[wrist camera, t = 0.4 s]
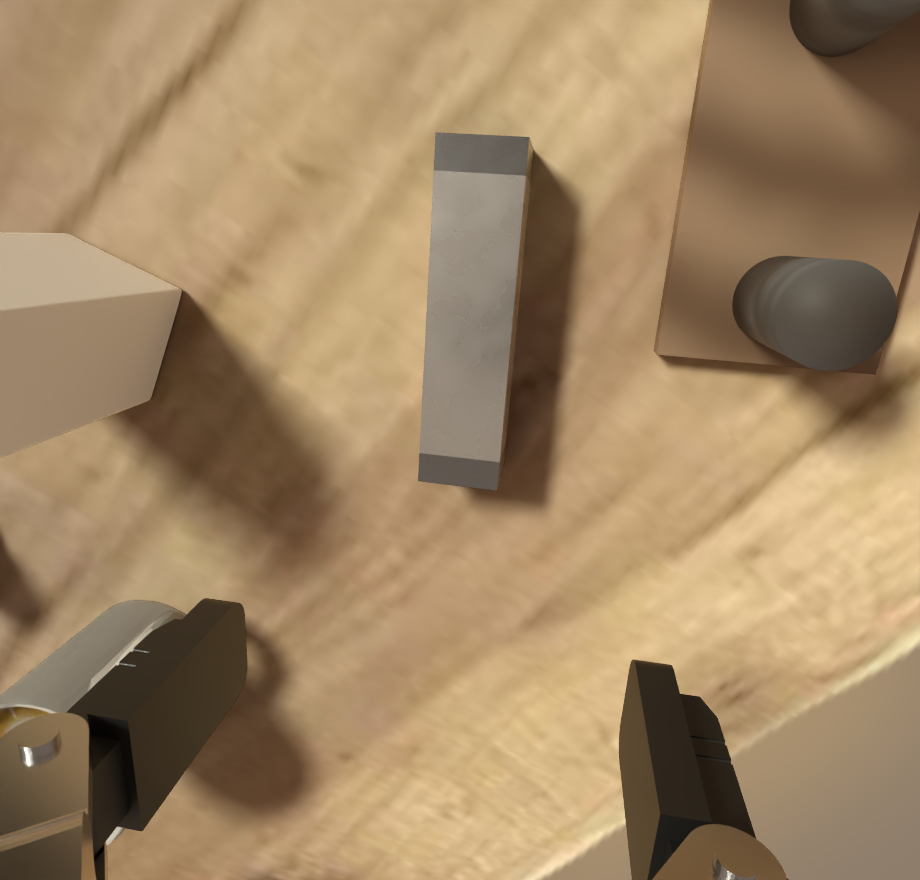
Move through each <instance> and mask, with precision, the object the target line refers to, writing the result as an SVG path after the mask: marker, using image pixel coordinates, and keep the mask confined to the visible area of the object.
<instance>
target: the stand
mask: <svg viewBox="0 0 920 880" xmlns="http://www.w3.org/2000/svg"><path fill="white" fill-rule="evenodd" d="M919 212H920V0H710V4H709V10H708V16H707V22H706V28H705V35H704V41H703V47H702V53H701V60H700V66H699V72H698V78H697V85H696V91H695V97H694V103H693V109H692V116H691V122H690V128H689V134H688V141H687V147H686V153H685V159H684V166H683V172H682V178H681V184H680V191H679V197H678V203H677V209H676V215H675V222H674V228H673V234H672V240H671V247H670V253H669V259H668V265H667V272H666V278H665V284H664V290H663V296H662V303H661V309H660V315H659V321H658V328H657V334H656V340H655V346H654V352H655V353H656V354H657V355H667V356H678V357H689V358H700V359H711V360H722V361H733V362H744V363H755V364H766V365H777V366H788V367H798V368H809V369H815V370H821V371H842V372H853V373H864V374H875V375H876V371H877V368H878V364H879V360H880V356H881V353H882V349H883V345H884V343H885V342H886V340H887V339H888V337H889V336H890V334H891V332H892V330H893V327H894V324H895V322H896V317H897V298H896V297H897V293H898V290H899V286H900V282H901V279H902V275H903V271H904V268H905V264H906V260H907V256H908V253H909V249H910V245H911V242H912V238H913V234H914V230H915V227H916V223H917V219H918V216H919Z"/></svg>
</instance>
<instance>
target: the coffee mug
mask: <svg viewBox="0 0 920 880" xmlns="http://www.w3.org/2000/svg"><path fill="white" fill-rule="evenodd" d="M185 616H186V615H185V614H183V613H182V612H180V611H178V610H176V609H174V608H172V607H170V606H168V605H165V604H162V603H158V602H154V601H145V600H134V601H126V602H123V603H120V604H116V605H114V606H112V607H111V608H109V609H108V610H106V611H105V612H104V613H102V614H101V615H100V616H99V617H97V618H96V619H95V620H94V621H92V622H91V623H90V624H89V625H87V626H86V627H85V628H84V629H82V630H81V631H80V632H79V633H77V634H76V635H75V636H74V637H72V638H71V639H70V640H69V641H67V642H66V643H65V644H64V645H63V646H61V647H60V648H59V649H58V650H56V651H55V652H54V653H53V654H51V655H50V656H49V657H48V658H46V659H45V660H44V661H43V662H41V663H40V664H39V665H38V666H36V667H35V668H34V669H33V670H31V671H30V672H29V673H28V674H26V675H25V676H24V677H23V678H21V679H20V680H19V681H18V682H17V683H15V684H14V685H13V686H12V687H10V688H9V689H8V690H7V691H5V692H4V693H3V694H2V695H0V738H1V737H2V736H3V735H4V734H6V733H7V732H8V731H10V730H11V729H13V728H14V727H16V726H18V725H20V724H22V723H24V722H26V721H28V720H30V719H33V718H36V717H39V716H42V715H47V714H52V713H66V712H67V711H68V710H69V709H70V708H71V707H72V706H73V705H74V704H75V703H76V702H77V701H78V700H79V699H81V698H82V697H83V696H84V695H85V694H86V693H87V692H88V691H89V690H90V689H91V688H92V687H93V686H94V685H95V684H96V683H97V682H98V681H99V680H101V679H102V678H103V677H104V676H105V675H106V674H107V673H108V672H109V671H110V670H111V669H112V668H113V667H114V666H115V665H119V661H121V660H122V659H123V658H124V657H125V656H126V655H127V654H128V653H129V652H130V651H131V652H133V649H134V647H135V646H136V645H137V644H138V643H139V642H141V641H142V640H143V639H144V638H145V637H146V636H147V635H148V634H149V633H150V632H151V631H153V630H155V629H157V628H159V627H161V626H162V625H164V624H166V623H168V622H170V621H172V620H174V619H181V620H182V619H183V618H184V617H185ZM124 829H125V828H122V827H116V829H115V830H114V831H113V833H112V834H111V835H110V837H109V838H108V839H107V841H106V845H108V844H110V843H111V842H113V841H114V840H115V839H116V838H117V837H118V836H119V835H120V834H121V833H122V832H123V831H124Z"/></svg>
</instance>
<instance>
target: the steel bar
mask: <svg viewBox="0 0 920 880" xmlns="http://www.w3.org/2000/svg"><path fill="white" fill-rule="evenodd" d="M533 152H534V150H533V147H532V144H531V141H530V138H529V137H515V136H495V135H475V134H456V133H436V138H435V157H434V177H433V197H432V217H431V236H430V256H429V276H428V296H427V316H426V335H425V355H424V375H423V395H422V414H421V434H420V454H419V474H418V481H422V482H430V483H438V484H446V485H455V486H463V487H471V488H479V489H488V490H496V491H497V489H498V485H499V482H500V478H501V474H502V471H503V467H504V461H505V450H506V440H507V429H508V418H509V408H510V397H511V386H512V376H513V365H514V354H515V344H516V333H517V322H518V312H519V301H520V290H521V280H522V269H523V258H524V248H525V237H526V226H527V216H528V205H529V194H530V184H531V173H532V162H533Z"/></svg>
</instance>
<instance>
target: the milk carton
mask: <svg viewBox="0 0 920 880" xmlns="http://www.w3.org/2000/svg"><path fill="white" fill-rule="evenodd" d="M181 293H182V291H181V289H179V288H178V287H175V286H173V285H171V284H169V283H167V282H165V281H163V280H161V279H159V278H157V277H155V276H153V275H151V274H149V273H147V272H145V271H143V270H141V269H139V268H137V267H135V266H133V265H131V264H129V263H127V262H125V261H123V260H121V259H119V258H117V257H115V256H112V255H110V254H108V253H106V252H104V251H102V250H100V249H98V248H96V247H94V246H92V245H90V244H88V243H86V242H84V241H82V240H80V239H78V238H76V237H74V236H72V235H70V234H63V233H2V232H0V458H1V457H4V456H6V455H9V454H12V453H14V452H17V451H19V450H22V449H25V448H27V447H30V446H33V445H35V444H38V443H40V442H43V441H46V440H48V439H51V438H53V437H56V436H59V435H61V434H64V433H66V432H69V431H72V430H74V429H77V428H79V427H82V426H85V425H87V424H90V423H92V422H95V421H98V420H100V419H103V418H106V417H108V416H111V415H113V414H116V413H119V412H121V411H124V410H126V409H129V408H132V407H134V406H137V405H139V404H142V403H145V402H147V401H149V400H150V399H151V396H152V393H153V390H154V387H155V383H156V380H157V377H158V373H159V370H160V366H161V363H162V359H163V356H164V353H165V349H166V346H167V342H168V339H169V336H170V332H171V329H172V325H173V322H174V318H175V315H176V312H177V308H178V305H179V301H180V298H181Z"/></svg>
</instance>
